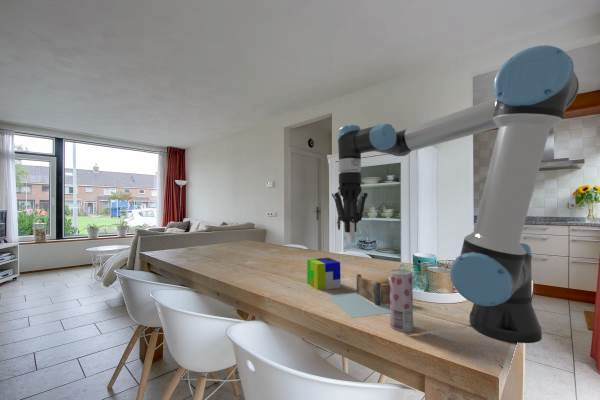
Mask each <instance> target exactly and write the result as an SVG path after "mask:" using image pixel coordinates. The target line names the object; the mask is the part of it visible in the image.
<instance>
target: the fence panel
mask: <svg viewBox="0 0 600 400" xmlns="http://www.w3.org/2000/svg"><path fill="white" fill-rule="evenodd" d="M356 293H358V294H360V295H362V296H363V297H365V298H367V299H368V300H370V301H372V302H374V303H375V305H377V306H380V305H381V282H379V281H376V282H374V281H371V280H369V279H367V278H365V277H363V276H362V274H359V273H358V274H356Z"/></svg>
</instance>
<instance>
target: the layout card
mask: <svg viewBox="0 0 600 400" xmlns="http://www.w3.org/2000/svg"><path fill="white" fill-rule="evenodd" d="M327 297H328V298H329V299H330V300H331V301H333V303H334V304H336V305H337V306H338V307H339V308H340V309H341V310H343V311H344V312H345V313H346V314H347V315H348V316H350V318H352V319H355V318H362V317H369V316H370V317H371V316H378V315H385V314H390V303H387V304H382V303H381V305H380V306H377V305H375V303H374V302H372V301H370V300H368V299H367V298H365V297H363V296H362V295H360V294H358V293H357V292H349V293H339V294H330V295H327ZM417 310H418V308H417V307H414V306H413V311H417Z"/></svg>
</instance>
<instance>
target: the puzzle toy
mask: <svg viewBox="0 0 600 400" xmlns="http://www.w3.org/2000/svg"><path fill="white" fill-rule="evenodd" d="M306 261H307V262H306V264H307V265H306V266H307V267H306V270H307V271H306V274H307V275H306V276H307V277H306V278H307V279H306V283H307V285H309V286H311V287H312V288H313V289H315V290H316V291H322V290H330V289H332V290H333V289H338V288H341V286H342V285H341V262H340V261H338V260H336V259H333V258H331V257H322V258H311V259H307V260H306Z"/></svg>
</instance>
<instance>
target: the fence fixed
mask: <svg viewBox="0 0 600 400" xmlns="http://www.w3.org/2000/svg"><path fill="white" fill-rule="evenodd" d="M380 287H381V303H382V304H387V303H390V282H389V283H380Z"/></svg>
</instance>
